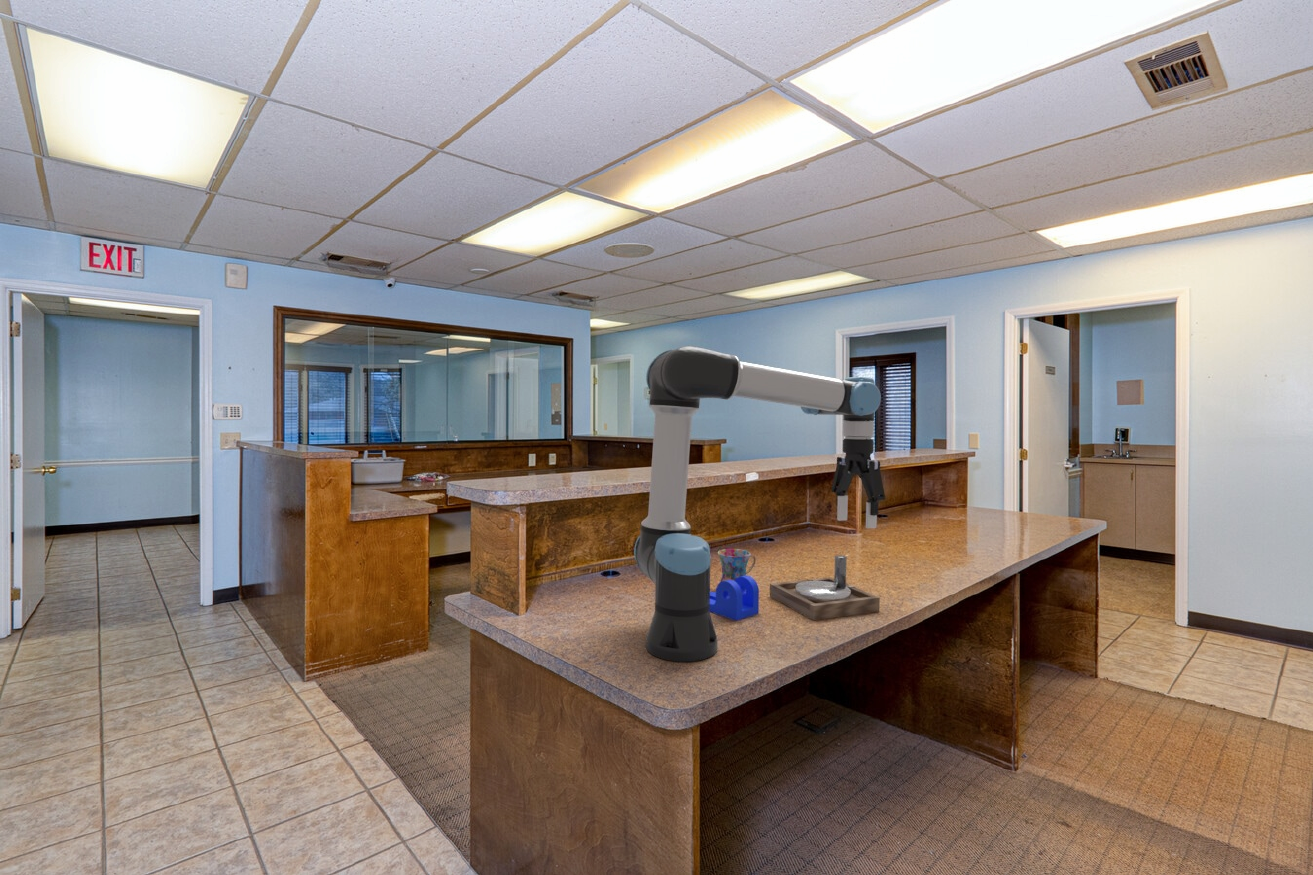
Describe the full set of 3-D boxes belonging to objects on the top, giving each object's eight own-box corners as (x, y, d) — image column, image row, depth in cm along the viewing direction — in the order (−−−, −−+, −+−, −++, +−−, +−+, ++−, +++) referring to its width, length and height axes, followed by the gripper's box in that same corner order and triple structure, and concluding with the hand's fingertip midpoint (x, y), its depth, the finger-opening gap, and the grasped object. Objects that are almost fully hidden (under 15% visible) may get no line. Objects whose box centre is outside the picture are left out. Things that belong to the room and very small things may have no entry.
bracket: (758, 613, 152) (759, 578, 152) (736, 621, 147) (737, 584, 147) (706, 596, 166) (707, 564, 165) (684, 603, 160) (685, 569, 160)
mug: (729, 596, 166) (729, 557, 165) (710, 587, 174) (711, 550, 174) (764, 590, 172) (765, 553, 171) (745, 582, 180) (745, 546, 179)
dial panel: (813, 620, 148) (813, 605, 147) (769, 596, 166) (769, 582, 166) (879, 611, 155) (879, 596, 155) (830, 589, 173) (830, 576, 173)
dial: (816, 606, 151) (817, 566, 151) (785, 590, 164) (785, 554, 164) (862, 600, 156) (863, 562, 156) (828, 585, 169) (829, 550, 169)
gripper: (903, 440, 146) (900, 531, 147) (841, 435, 167) (839, 515, 168) (877, 440, 143) (875, 533, 144) (818, 436, 164) (816, 517, 165)
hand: (856, 524), depth 156 cm, fingers open, 10 cm apart
